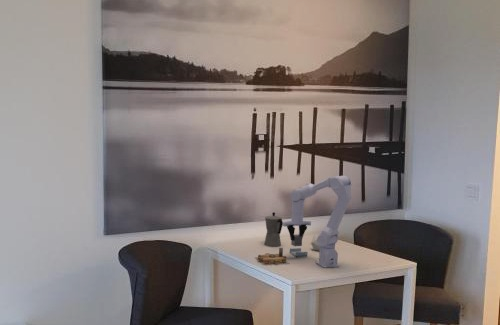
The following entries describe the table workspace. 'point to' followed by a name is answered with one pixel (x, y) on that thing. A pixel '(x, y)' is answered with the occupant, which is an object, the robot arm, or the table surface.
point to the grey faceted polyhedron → (315, 243)
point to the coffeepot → (273, 230)
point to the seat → (298, 252)
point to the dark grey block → (297, 240)
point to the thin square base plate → (272, 263)
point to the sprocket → (273, 257)
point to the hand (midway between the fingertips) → (296, 239)
